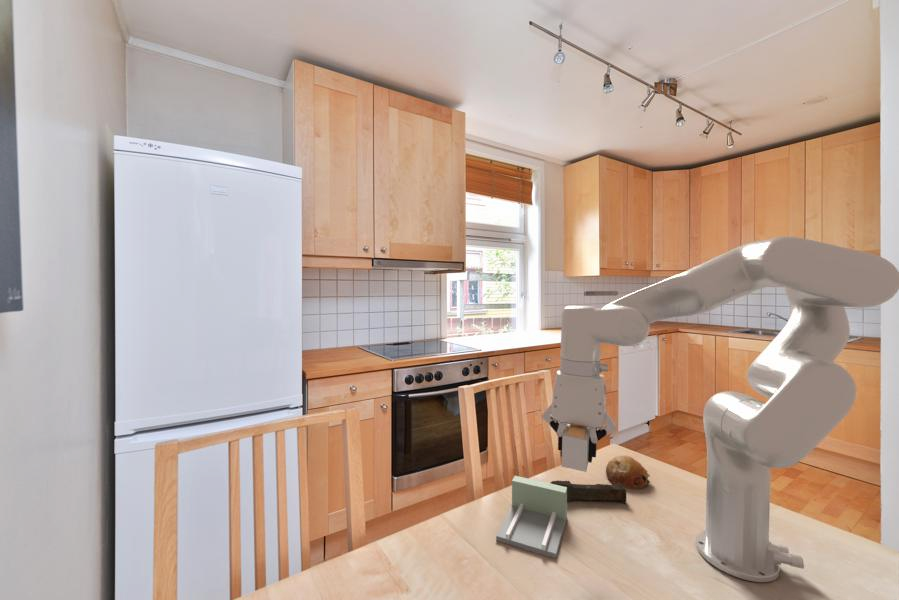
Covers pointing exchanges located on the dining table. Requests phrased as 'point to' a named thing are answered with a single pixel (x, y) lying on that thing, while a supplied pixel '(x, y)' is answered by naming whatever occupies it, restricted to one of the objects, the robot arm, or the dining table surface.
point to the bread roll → (627, 472)
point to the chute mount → (535, 516)
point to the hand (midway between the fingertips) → (576, 456)
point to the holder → (575, 447)
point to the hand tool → (593, 491)
